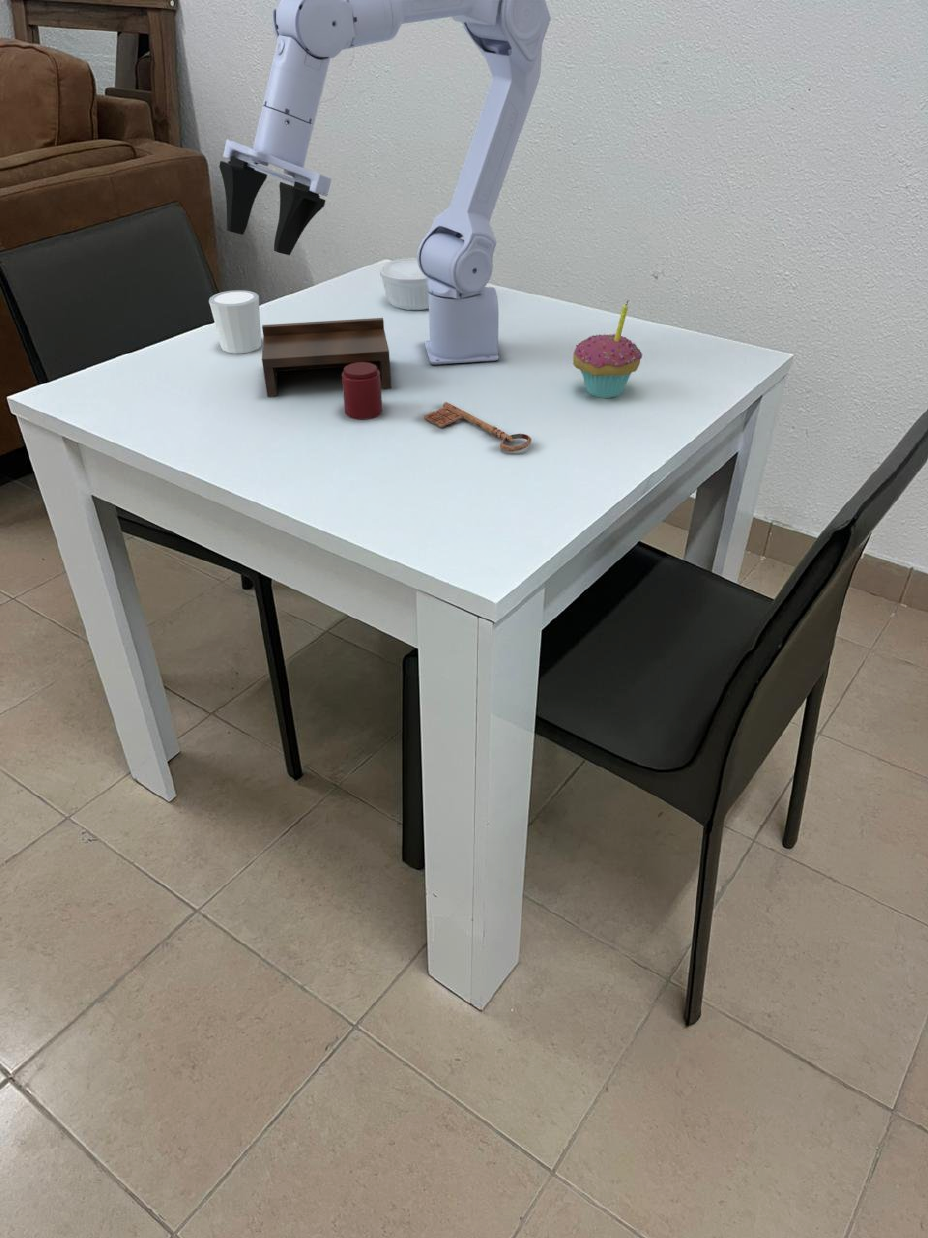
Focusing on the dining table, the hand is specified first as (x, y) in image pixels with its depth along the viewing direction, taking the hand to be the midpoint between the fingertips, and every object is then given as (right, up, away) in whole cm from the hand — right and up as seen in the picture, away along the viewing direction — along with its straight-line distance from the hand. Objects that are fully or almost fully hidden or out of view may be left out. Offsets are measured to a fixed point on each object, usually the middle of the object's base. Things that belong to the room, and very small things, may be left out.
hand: (258, 242), depth 106 cm
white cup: (-8, -4, +27) cm, 28 cm away
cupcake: (+42, -14, +13) cm, 46 cm away
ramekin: (+16, +7, +42) cm, 45 cm away
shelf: (+6, -11, +17) cm, 21 cm away
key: (+25, -21, +4) cm, 33 cm away
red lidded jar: (+11, -17, +9) cm, 22 cm away
